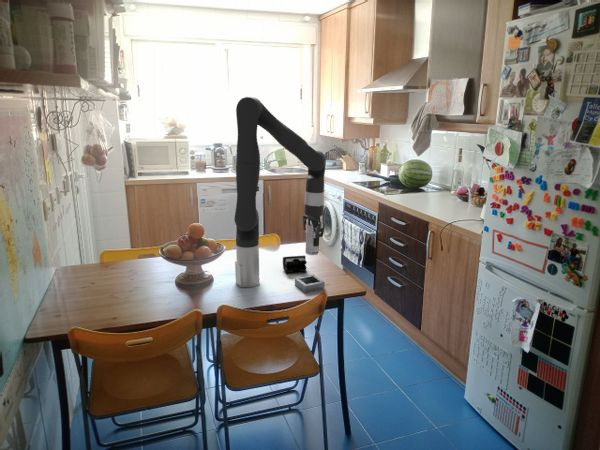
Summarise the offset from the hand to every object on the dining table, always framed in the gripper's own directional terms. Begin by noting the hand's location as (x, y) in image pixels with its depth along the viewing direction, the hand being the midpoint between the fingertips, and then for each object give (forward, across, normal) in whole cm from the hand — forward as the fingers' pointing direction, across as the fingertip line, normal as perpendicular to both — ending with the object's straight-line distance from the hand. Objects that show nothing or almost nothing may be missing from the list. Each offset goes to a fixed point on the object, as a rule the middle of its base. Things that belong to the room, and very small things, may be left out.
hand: (312, 243), depth 178 cm
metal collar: (+19, 0, 0) cm, 19 cm away
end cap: (+19, -19, +3) cm, 27 cm away
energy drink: (+4, 0, 0) cm, 4 cm away
